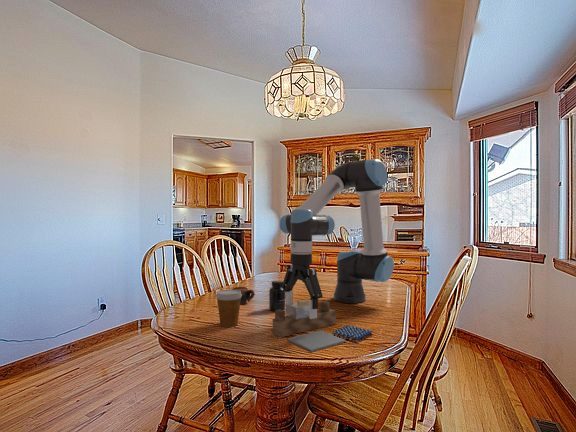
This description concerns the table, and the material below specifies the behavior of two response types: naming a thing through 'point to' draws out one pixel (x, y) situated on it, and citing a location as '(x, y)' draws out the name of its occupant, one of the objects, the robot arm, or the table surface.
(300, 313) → the light grey block
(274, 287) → the supplement bottle
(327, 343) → the pad
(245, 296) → the pottery mug
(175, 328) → the table surface
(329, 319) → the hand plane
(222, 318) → the disposable coffee cup
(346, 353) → the table surface
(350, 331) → the woven mat
